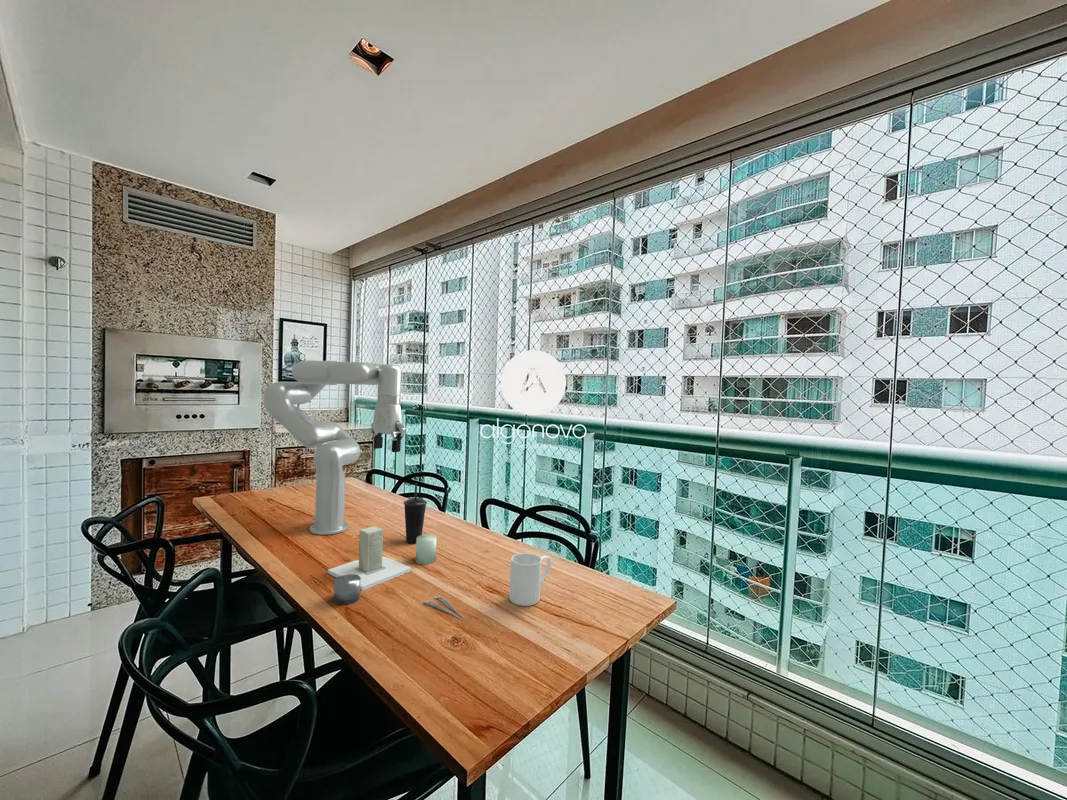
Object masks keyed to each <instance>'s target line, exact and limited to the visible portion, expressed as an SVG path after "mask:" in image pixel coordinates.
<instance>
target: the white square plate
mask: <svg viewBox="0 0 1067 800" xmlns="http://www.w3.org/2000/svg"><path fill="white" fill-rule="evenodd" d="M412 569H413V568H412V567H410V566H408V565H406V564H404V563H401V562H399V561H396V560H393V559H392V558H389V557H386V556H384V555H382V567H380V568H378V569H375V570H372V571H370V572H365V571H363V570H361V569H359V559H357V560H353V561H350V562H347V563H344V564H341V565H338V566H334V567H332V568H328V569H327V574H329V575H331V577H335V579H336V578H337V577H339V576H342V575H347V574H354V575H358V576H360V578H361V580H360V591H365V590H367V589H370V588H372V587H375V586H378V585H380V584H382V583H385V582H387V581H390V579H391V580H393V579H395V577H396V578H398V577H400V575H401V576H403V575H405V573H406V574H408V573H410V571H411V572H412V571H413V570H412ZM377 584H378V585H377Z"/></svg>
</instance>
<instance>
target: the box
mask: <svg viewBox="0 0 1067 800" xmlns="http://www.w3.org/2000/svg"><path fill="white" fill-rule="evenodd" d="M358 538H359V539H358V540H359V542H358V544H359V545H358V560H359V569H361V570H363V571H365V572H370V571H372V570H375V569H378V568H380V567H382V556H383V546H384V544H383V541H384V539H383V538H384V529H382V528H381V527H377V526H375V525H373V526H369V527H366V528H363V529H359V535H358Z"/></svg>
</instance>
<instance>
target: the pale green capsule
mask: <svg viewBox="0 0 1067 800" xmlns="http://www.w3.org/2000/svg"><path fill="white" fill-rule="evenodd" d="M437 538H438V537H437V536H436V535H434V534H422V535H420V536H418V537H417V541H416V544H415V545H416V546H415V547H416V548H415V562H416V564H419V565H430V564H434V563H436V560H437Z"/></svg>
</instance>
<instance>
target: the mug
mask: <svg viewBox="0 0 1067 800" xmlns="http://www.w3.org/2000/svg"><path fill="white" fill-rule="evenodd" d="M545 559H546V565H545V566H546V567H545V568H544V571H543V573H542V562H543V561H544V560H545ZM510 560H511V561H510V577H509V578H510V579H509V582H510V583H509V596H508V597H509V601H510V602H511V603H513V604H514V605H517V606H523V607H529V606H533V605H536V604H537V603H539V601H540V597H541V584H542V582H544V581H545V579H546V577H547V576H548V574H549V573H550V570H551V562H552V561H551V558H550V557H549V556H548V555H542V556H539V555H537V554H533V553H529V552H527V553H526V552H521V553H516V554H513V555H512V556H511V558H510Z"/></svg>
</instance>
